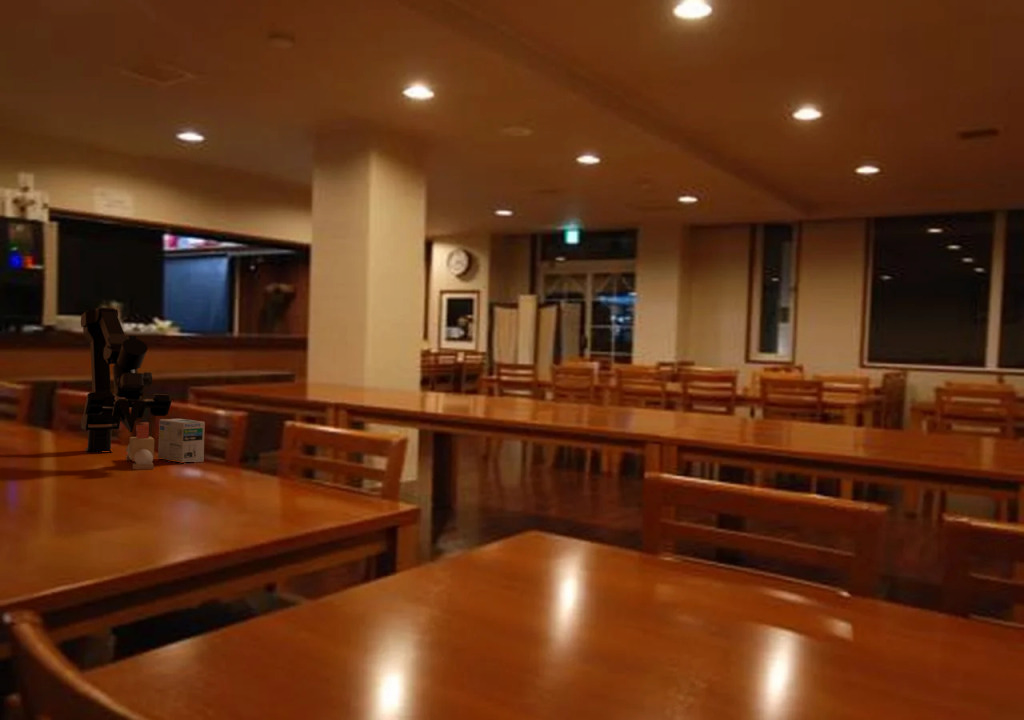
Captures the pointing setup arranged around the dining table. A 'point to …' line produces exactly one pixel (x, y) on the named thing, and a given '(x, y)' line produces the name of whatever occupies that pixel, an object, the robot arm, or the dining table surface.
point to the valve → (141, 452)
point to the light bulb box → (181, 440)
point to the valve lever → (142, 430)
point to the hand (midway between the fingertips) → (131, 431)
